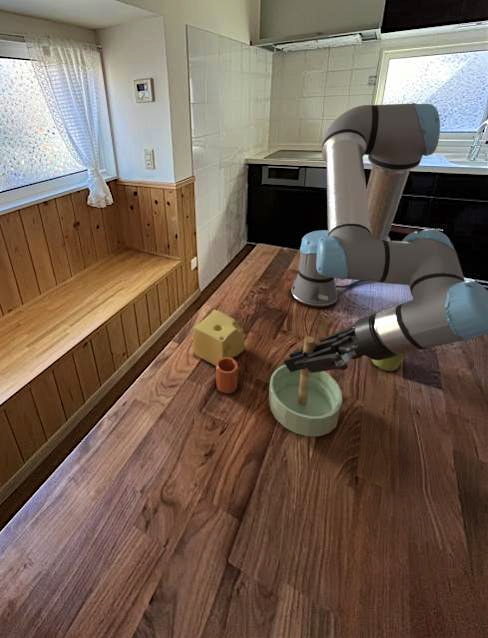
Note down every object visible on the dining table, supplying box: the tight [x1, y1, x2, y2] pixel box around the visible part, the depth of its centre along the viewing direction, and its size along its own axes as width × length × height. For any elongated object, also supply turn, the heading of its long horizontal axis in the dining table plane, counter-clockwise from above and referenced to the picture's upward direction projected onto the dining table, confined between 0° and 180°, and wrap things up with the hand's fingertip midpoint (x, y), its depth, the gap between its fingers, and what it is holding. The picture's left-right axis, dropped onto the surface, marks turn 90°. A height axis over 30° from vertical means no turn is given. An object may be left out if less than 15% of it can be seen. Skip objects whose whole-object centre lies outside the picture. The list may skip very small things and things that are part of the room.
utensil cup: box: [215, 357, 239, 394], centre depth 82 cm, size 5×5×7 cm
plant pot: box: [371, 354, 406, 372], centre depth 86 cm, size 9×9×9 cm
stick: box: [298, 336, 316, 406], centre depth 73 cm, size 2×2×18 cm
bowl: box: [268, 364, 343, 437], centre depth 76 cm, size 15×15×6 cm
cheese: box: [192, 309, 246, 367], centre depth 92 cm, size 10×11×10 cm
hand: (290, 362), depth 75 cm, fingers closed on stick, 2 cm apart
